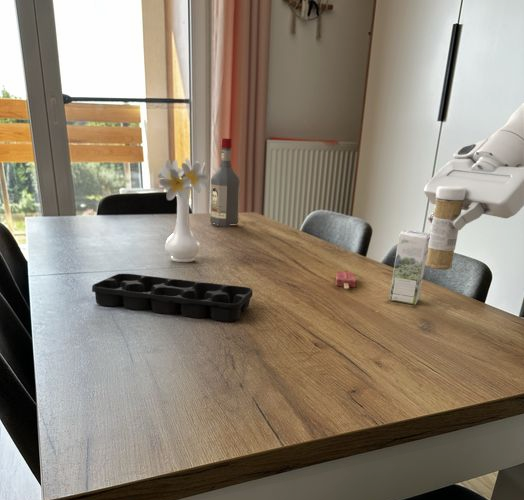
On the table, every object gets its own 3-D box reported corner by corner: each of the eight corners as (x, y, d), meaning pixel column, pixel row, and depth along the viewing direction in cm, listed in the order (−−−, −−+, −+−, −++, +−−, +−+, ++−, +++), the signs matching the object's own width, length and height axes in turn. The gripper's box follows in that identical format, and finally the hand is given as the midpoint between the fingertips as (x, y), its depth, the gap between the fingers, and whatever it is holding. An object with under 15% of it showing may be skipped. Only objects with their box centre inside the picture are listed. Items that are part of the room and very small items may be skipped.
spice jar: (441, 264, 92) (455, 185, 87) (457, 270, 88) (472, 188, 83) (419, 264, 91) (432, 185, 86) (433, 270, 87) (447, 187, 82)
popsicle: (337, 283, 114) (335, 269, 128) (336, 291, 114) (335, 276, 128) (357, 285, 113) (354, 271, 127) (356, 293, 114) (353, 278, 128)
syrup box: (419, 299, 113) (431, 232, 107) (415, 305, 108) (427, 236, 102) (393, 294, 115) (404, 229, 109) (388, 301, 110) (398, 232, 104)
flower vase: (157, 268, 125) (154, 159, 116) (161, 252, 142) (159, 156, 133) (210, 269, 127) (212, 162, 118) (208, 253, 144) (210, 158, 135)
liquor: (226, 222, 199) (229, 138, 188) (241, 225, 193) (244, 139, 181) (207, 223, 194) (208, 137, 182) (221, 227, 187) (223, 138, 176)
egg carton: (109, 288, 107) (108, 271, 106) (253, 297, 107) (253, 279, 106) (80, 315, 91) (78, 294, 89) (249, 325, 91) (250, 304, 90)
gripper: (559, 184, 79) (494, 249, 79) (467, 174, 96) (415, 227, 97) (544, 151, 75) (477, 220, 76) (452, 147, 93) (398, 203, 94)
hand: (442, 224), depth 87 cm, fingers closed on spice jar, 4 cm apart
